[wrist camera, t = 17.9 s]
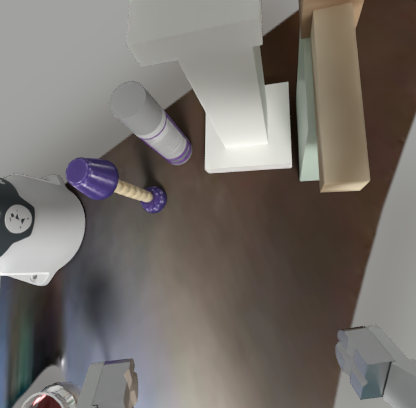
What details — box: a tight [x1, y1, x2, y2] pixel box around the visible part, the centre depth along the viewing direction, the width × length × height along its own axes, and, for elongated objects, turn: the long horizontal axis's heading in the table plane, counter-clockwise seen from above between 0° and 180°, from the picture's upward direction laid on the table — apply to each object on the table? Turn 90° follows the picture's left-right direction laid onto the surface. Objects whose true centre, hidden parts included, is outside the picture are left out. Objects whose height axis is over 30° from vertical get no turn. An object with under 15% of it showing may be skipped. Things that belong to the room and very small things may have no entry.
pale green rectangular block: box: [296, 34, 319, 181], centre depth 31 cm, size 4×12×16 cm, turn 0°
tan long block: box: [299, 0, 370, 192], centre depth 21 cm, size 4×19×4 cm, turn 1°
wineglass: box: [21, 382, 82, 408], centre depth 34 cm, size 7×7×12 cm
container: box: [109, 81, 192, 165], centre depth 37 cm, size 5×5×15 cm
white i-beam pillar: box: [126, 0, 292, 173], centre depth 29 cm, size 12×12×26 cm
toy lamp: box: [66, 157, 167, 213], centre depth 36 cm, size 5×5×17 cm
